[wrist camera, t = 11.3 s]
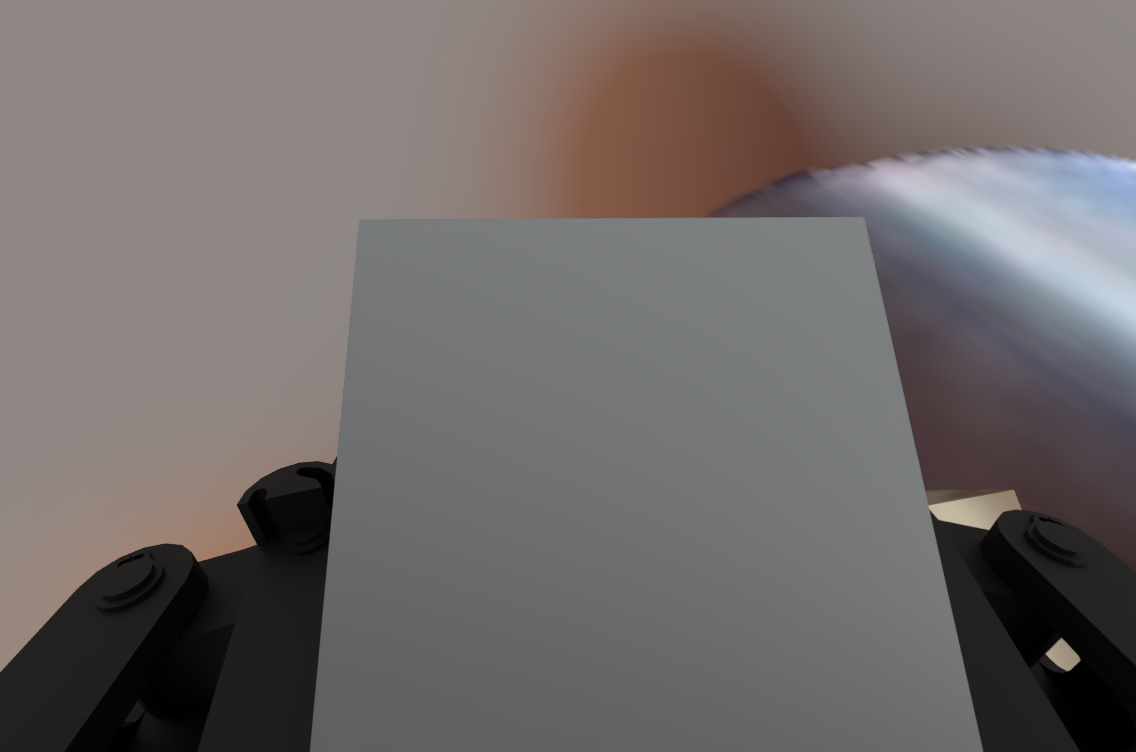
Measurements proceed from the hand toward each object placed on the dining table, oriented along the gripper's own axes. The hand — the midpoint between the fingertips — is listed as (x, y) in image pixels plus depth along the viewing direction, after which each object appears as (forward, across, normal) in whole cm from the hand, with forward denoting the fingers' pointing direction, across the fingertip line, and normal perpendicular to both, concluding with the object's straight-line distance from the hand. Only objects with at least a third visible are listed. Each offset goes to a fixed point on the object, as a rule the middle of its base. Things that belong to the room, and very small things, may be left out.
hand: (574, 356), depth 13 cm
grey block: (0, 0, -5) cm, 5 cm away
